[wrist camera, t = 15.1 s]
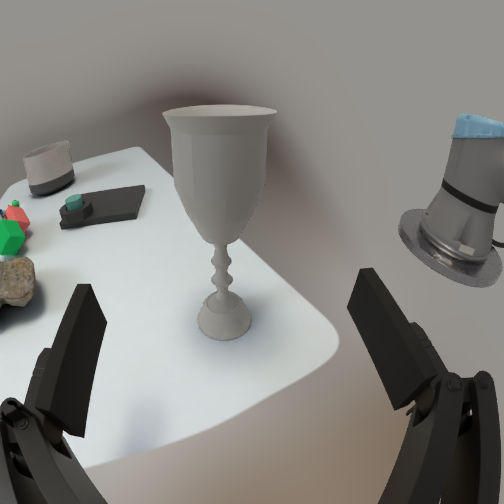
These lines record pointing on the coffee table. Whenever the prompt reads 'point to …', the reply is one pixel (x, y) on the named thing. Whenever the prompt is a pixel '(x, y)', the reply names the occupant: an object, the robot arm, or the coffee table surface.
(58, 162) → the planter
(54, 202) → the coffee table surface
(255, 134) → the chalice
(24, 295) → the fossilized seashell
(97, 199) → the scale
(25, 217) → the building blocks
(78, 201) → the button
